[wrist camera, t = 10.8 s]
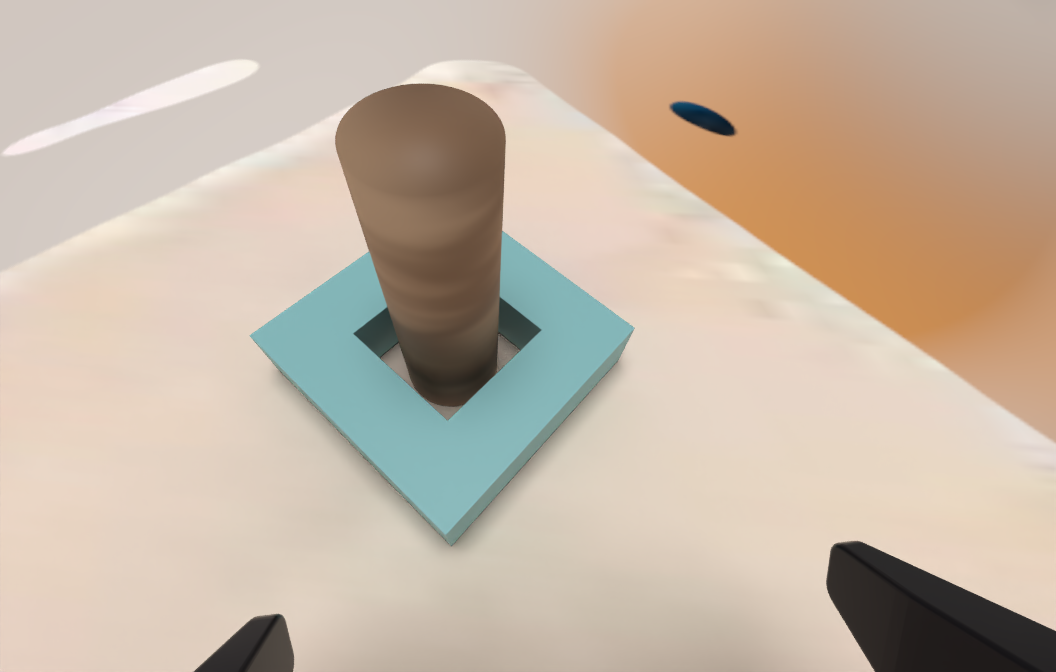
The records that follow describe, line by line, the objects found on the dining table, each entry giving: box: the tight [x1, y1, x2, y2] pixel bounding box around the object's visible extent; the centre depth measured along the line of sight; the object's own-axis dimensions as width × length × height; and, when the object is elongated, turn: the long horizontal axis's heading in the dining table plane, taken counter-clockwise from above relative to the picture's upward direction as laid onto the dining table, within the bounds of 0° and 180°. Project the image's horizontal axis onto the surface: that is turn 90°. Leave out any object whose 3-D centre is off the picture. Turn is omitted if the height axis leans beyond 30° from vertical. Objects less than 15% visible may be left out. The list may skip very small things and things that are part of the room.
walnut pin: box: [335, 84, 506, 406], centre depth 17 cm, size 4×4×12 cm
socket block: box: [250, 231, 634, 546], centre depth 21 cm, size 11×11×3 cm
